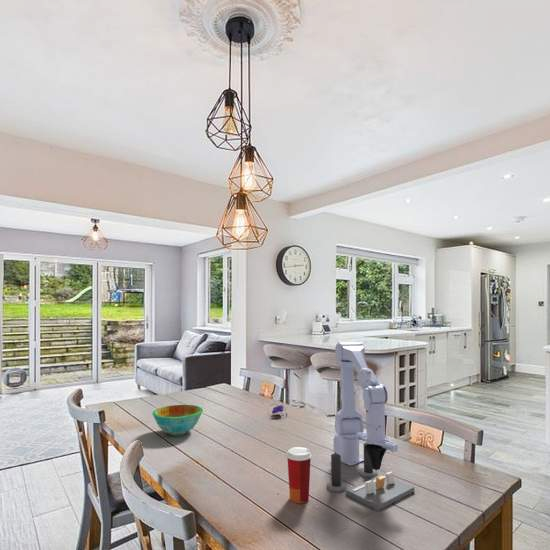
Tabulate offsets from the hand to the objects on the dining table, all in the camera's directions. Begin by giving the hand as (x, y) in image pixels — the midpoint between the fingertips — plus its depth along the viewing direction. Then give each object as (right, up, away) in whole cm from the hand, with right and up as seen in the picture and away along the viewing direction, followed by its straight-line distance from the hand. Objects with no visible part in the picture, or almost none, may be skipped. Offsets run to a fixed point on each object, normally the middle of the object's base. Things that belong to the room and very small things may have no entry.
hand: (376, 468), depth 122 cm
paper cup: (-25, -7, -5) cm, 26 cm away
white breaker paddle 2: (+5, -5, +2) cm, 7 cm away
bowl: (-76, -12, +55) cm, 95 cm away
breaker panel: (+1, -7, -1) cm, 7 cm away
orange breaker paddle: (+1, -5, -1) cm, 5 cm away
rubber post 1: (-12, -7, +2) cm, 14 cm away
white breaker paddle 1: (-3, -5, -5) cm, 7 cm away
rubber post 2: (0, -8, +12) cm, 14 cm away
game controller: (-29, -14, +82) cm, 88 cm away
